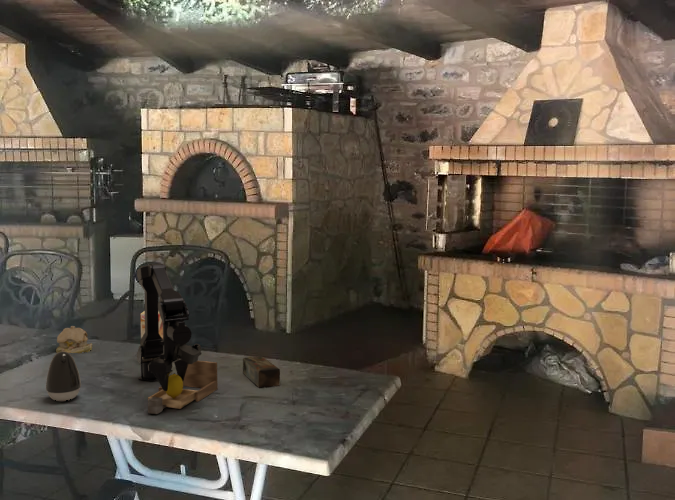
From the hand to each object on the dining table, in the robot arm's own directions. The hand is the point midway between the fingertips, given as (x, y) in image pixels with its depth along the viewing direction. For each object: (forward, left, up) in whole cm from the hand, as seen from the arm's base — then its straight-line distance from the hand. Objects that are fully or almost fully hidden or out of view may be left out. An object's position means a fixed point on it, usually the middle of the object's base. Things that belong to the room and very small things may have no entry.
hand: (173, 386), depth 209 cm
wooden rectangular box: (+16, +30, -6) cm, 34 cm away
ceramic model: (-69, +40, -5) cm, 80 cm away
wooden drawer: (0, -3, -5) cm, 6 cm away
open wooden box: (0, +8, -5) cm, 10 cm away
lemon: (0, 0, -4) cm, 4 cm away
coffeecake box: (-31, +38, -5) cm, 50 cm away
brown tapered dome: (-34, -9, -5) cm, 35 cm away
